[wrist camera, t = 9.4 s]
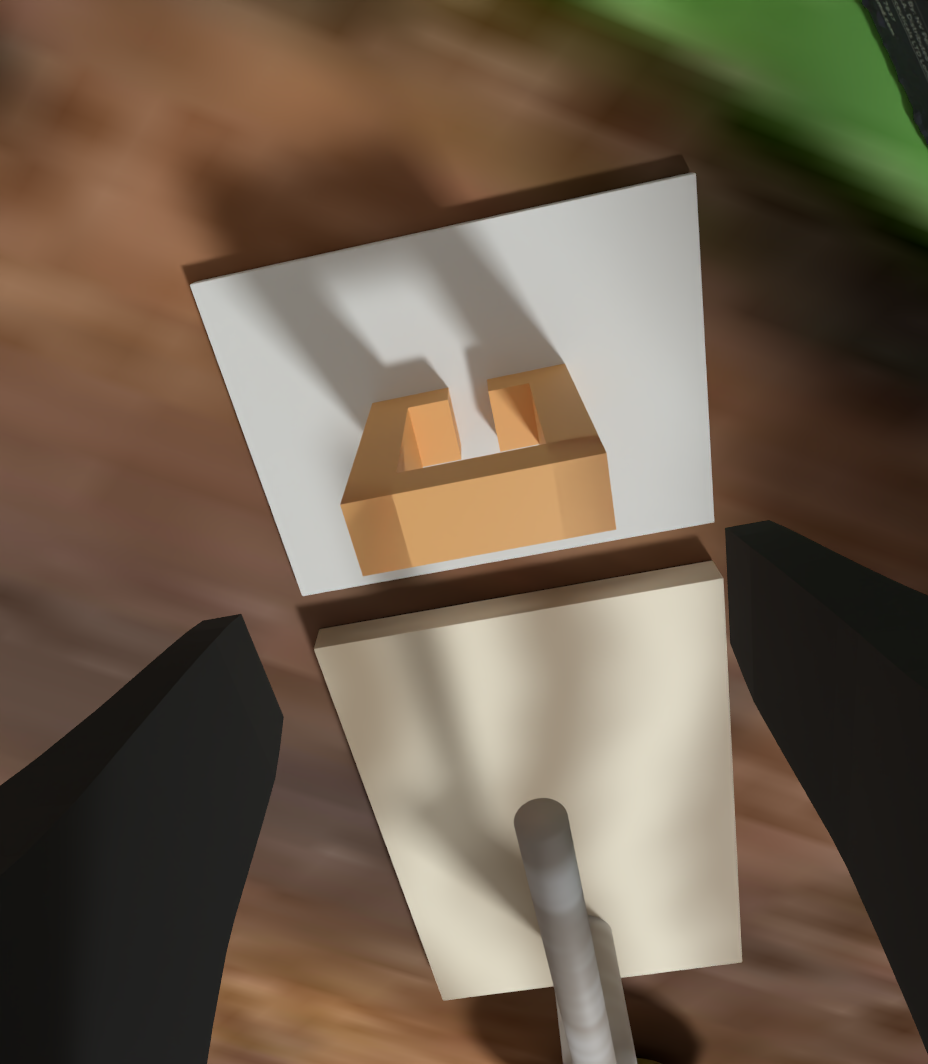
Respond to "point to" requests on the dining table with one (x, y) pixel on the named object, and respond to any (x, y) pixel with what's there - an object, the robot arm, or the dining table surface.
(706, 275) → the dining table surface
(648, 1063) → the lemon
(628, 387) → the grey mat
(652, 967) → the hook stand
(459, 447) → the c link
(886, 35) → the small box
